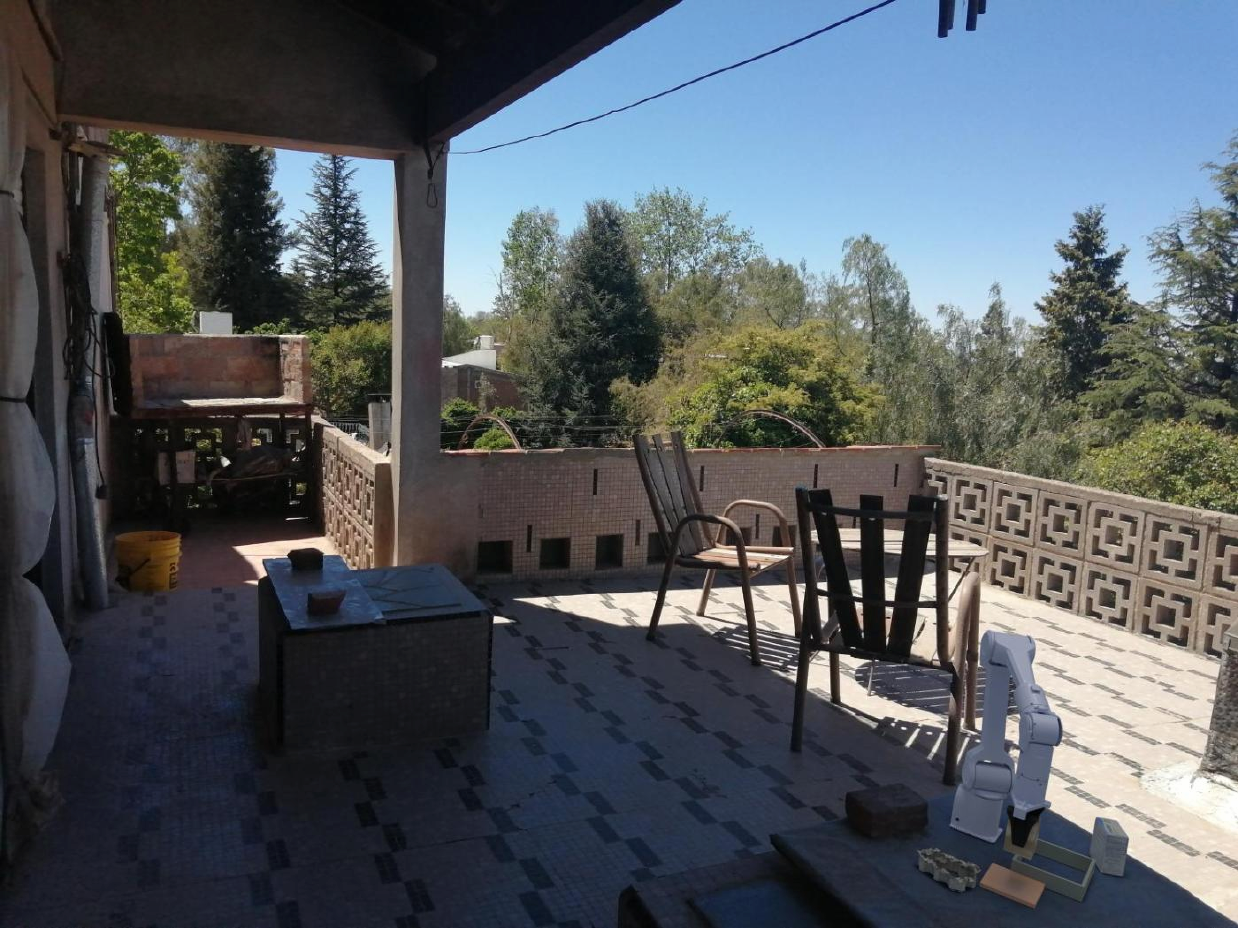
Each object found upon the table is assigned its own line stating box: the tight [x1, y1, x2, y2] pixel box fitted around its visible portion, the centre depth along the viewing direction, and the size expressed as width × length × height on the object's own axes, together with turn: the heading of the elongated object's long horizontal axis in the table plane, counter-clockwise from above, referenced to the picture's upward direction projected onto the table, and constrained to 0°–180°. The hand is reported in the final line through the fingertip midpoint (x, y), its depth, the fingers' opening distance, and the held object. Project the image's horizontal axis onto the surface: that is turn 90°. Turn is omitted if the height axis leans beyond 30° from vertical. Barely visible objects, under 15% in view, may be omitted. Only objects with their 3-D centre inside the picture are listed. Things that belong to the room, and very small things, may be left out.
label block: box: [1002, 817, 1042, 861], centre depth 178 cm, size 4×5×7 cm
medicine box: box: [1088, 816, 1130, 878], centre depth 192 cm, size 8×4×9 cm, turn 168°
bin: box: [1009, 838, 1096, 903], centre depth 186 cm, size 13×14×3 cm
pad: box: [979, 863, 1046, 909], centre depth 179 cm, size 10×10×1 cm
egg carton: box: [916, 847, 982, 893], centre depth 180 cm, size 11×8×4 cm
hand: (1020, 841), depth 178 cm, fingers closed on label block, 4 cm apart
